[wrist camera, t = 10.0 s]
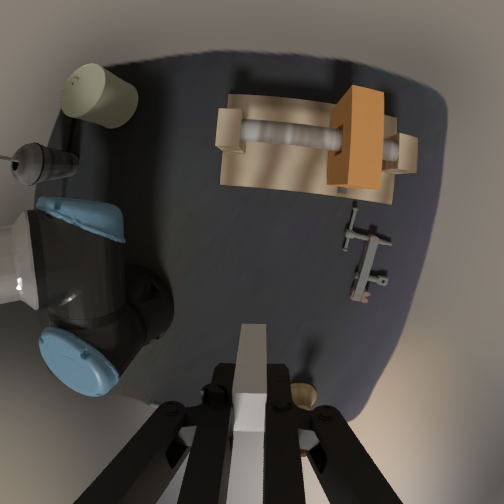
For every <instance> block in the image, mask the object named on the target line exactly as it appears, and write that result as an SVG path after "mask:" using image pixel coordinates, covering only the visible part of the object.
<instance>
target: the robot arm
mask: <svg viewBox="0 0 504 504" xmlns="http://www.w3.org/2000/svg"><path fill="white" fill-rule="evenodd" d="M36 208H37V209H36V210H28V211H23V212H22V214H21V215H20V216H19V218H18V219H17V220H16V222H15V223H14V224H13V225H11V226H5V227H0V304H1V303H7V302H12V301H17V300H22V301H24V302H26V303H27V304H28V305H30V306H31V307H32V308H34V309H35V310H39V309H43V308H47V312H48V317H49V322H50V326H49V327H46V328H45V329H44V330H43V332H42V334H41V336H40V338H39V347H40V351H41V354H42V356H43V358H44V360H45V362H46V364H47V365H48V367H49V368H50V369H51V371H52V372H53V373H54V374H55V375H56V376H57V377H58V378H59V379H60V380H61V381H62V382H63V383H64V384H66V385H67V386H68V387H70V388H71V389H73V390H75V391H77V392H79V393H81V394H84V395H87V396H102V395H104V394H106V393H107V392H108V391H109V390H110V389H111V388H112V387H113V386H114V385H115V384H117V383H118V381H119V378H120V377H121V375H122V374H123V372H124V371H125V370H126V368H127V367H128V366H129V364H130V363H131V362H132V360H133V359H134V358H135V356H136V355H137V354H138V352H139V351H140V350H141V348H142V347H143V346H145V345H148V344H149V343H152V342H154V341H156V340H158V339H159V338H161V337H162V336H163V335H164V334H165V332H166V331H167V330H168V328H169V327H170V325H171V323H172V320H173V316H174V306H173V301H172V298H171V295H170V293H169V291H168V289H167V287H166V286H165V284H164V283H163V282H162V281H161V279H160V278H159V277H157V276H156V275H155V274H154V273H152V272H151V271H149V270H147V269H145V268H143V267H139V266H134V265H128V266H125V264H124V243H126V240H125V238H124V226H123V214H122V212H121V210H120V209H119V208H118V207H117V206H115V205H113V204H109V203H104V202H97V201H90V200H81V199H72V198H61V197H40V198H39V199H38V202H37V204H36ZM201 396H202V404H200V405H198V406H194V407H186V408H185V406H184V405H183V404H181V403H179V402H176V401H168V402H165V403H162V404H161V405H160V406H159V407H158V408H157V409H156V410H155V412H154V413H153V414H152V415H151V416H150V417H149V419H148V420H147V421H146V422H145V423H144V425H143V426H142V427H141V428H140V429H139V430H138V432H137V433H136V434H135V435H134V436H133V437H132V438H131V440H130V441H129V442H128V443H127V444H126V445H125V447H124V448H123V449H122V450H121V451H120V452H119V453H118V454H117V456H116V457H115V458H114V459H113V460H112V461H111V462H110V464H109V465H108V466H107V467H106V468H105V469H104V470H103V471H102V473H101V474H100V475H99V476H98V477H97V478H96V479H95V480H94V481H93V482H92V484H91V485H90V486H89V487H88V488H87V489H86V490H85V491H84V492H83V493H82V494H81V496H80V497H79V498H78V499H77V500H76V501H75V502H74V503H73V504H155V503H156V502H157V501H158V499H159V498H160V497H161V495H162V494H163V492H164V490H165V489H166V488H167V486H168V485H169V483H170V481H171V480H172V478H173V477H174V475H175V474H176V472H177V471H178V469H179V467H180V466H181V464H182V463H183V461H184V459H185V458H186V456H187V455H188V453H189V452H190V454H189V458H188V462H187V466H186V470H185V474H184V477H183V481H182V485H181V489H180V494H179V497H178V501H177V504H226V499H227V491H228V482H229V474H230V464H231V456H232V448H233V430H234V431H254V432H264V447H263V448H264V468H263V472H264V473H263V504H306V502H305V492H304V481H303V473H302V462H301V453H300V449H304V451H305V453H306V455H307V457H308V459H309V461H310V463H311V466H312V468H313V470H314V472H315V474H316V476H317V478H318V480H319V482H320V484H321V486H322V488H323V490H324V492H325V494H326V496H327V498H328V500H329V502H330V504H403V503H402V502H401V500H400V499H399V497H398V496H397V495H396V493H395V492H394V491H393V489H392V487H391V486H390V484H389V483H388V482H387V480H386V479H385V477H384V476H383V474H382V473H381V472H380V470H379V469H378V467H377V466H376V464H375V463H374V462H373V460H372V459H371V457H370V456H369V454H368V453H367V451H366V450H365V448H364V447H363V445H362V444H361V443H360V441H359V440H358V438H357V437H356V435H355V434H354V432H353V431H352V429H351V428H350V427H349V425H348V423H347V422H346V421H345V419H344V418H343V416H342V415H341V413H340V412H339V411H338V410H337V409H336V408H335V407H332V406H328V405H322V406H318V407H316V408H315V409H314V410H313V411H311V410H305V409H302V408H300V407H298V406H297V405H295V404H294V402H293V400H292V393H291V384H290V377H289V369H288V368H287V367H286V365H285V364H267V363H266V324H242V327H241V334H240V341H239V348H238V354H237V361H236V364H233V363H219V364H218V365H217V366H216V367H215V369H214V373H213V377H212V381H211V384H207V385H206V386H204V387H203V388H202V390H201Z"/></svg>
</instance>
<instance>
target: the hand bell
mask: <svg viewBox="0 0 504 504" xmlns="http://www.w3.org/2000/svg"><path fill="white" fill-rule="evenodd" d="M291 393H292V400H293V402H294V404H295V405H297V406H298V407H300V408H302V409H305V410H311V405H312V404H313V403H314V402H315V400H316V398H317V391H316V389H315V388H314V387H313V386H311V385H309V384H307V383H292V384H291ZM300 453H301V457H305V456H307V455H306V453H305V451H304V449H300Z"/></svg>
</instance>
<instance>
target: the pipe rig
mask: <svg viewBox="0 0 504 504" xmlns="http://www.w3.org/2000/svg"><path fill="white" fill-rule="evenodd" d="M335 105H336V104H330V103H324V102H317V101H310V100H302V99H294V98H284V97H274V96H260V95H240V94H229V95H228V104H227V109H219V114H218V123H217V133H216V143H215V146H217V147H218V148H219V149H221V150H222V151H223V155H222V167H221V179H220V185H233V186H246V187H258V188H270V189H280V190H290V191H299V192H308V193H316V194H324V195H332V196H339V197H346V198H353V199H360V200H367V201H373V202H379V203H385V204H391V205H392V198H393V188H394V176H395V174H403V173H416V171H417V151H418V138H416V137H413V136H409V135H406V134H402V133H398V134H397V118H395V117H391V116H387V115H384V137H383V158H382V172H381V184H380V190H378V189H352V188H345V187H338V186H331V185H326V183H327V172H328V160H329V150H332V151H339V152H342V136H343V130H339V129H333V128H331V110H332V109H333V108H334V107H335Z"/></svg>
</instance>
